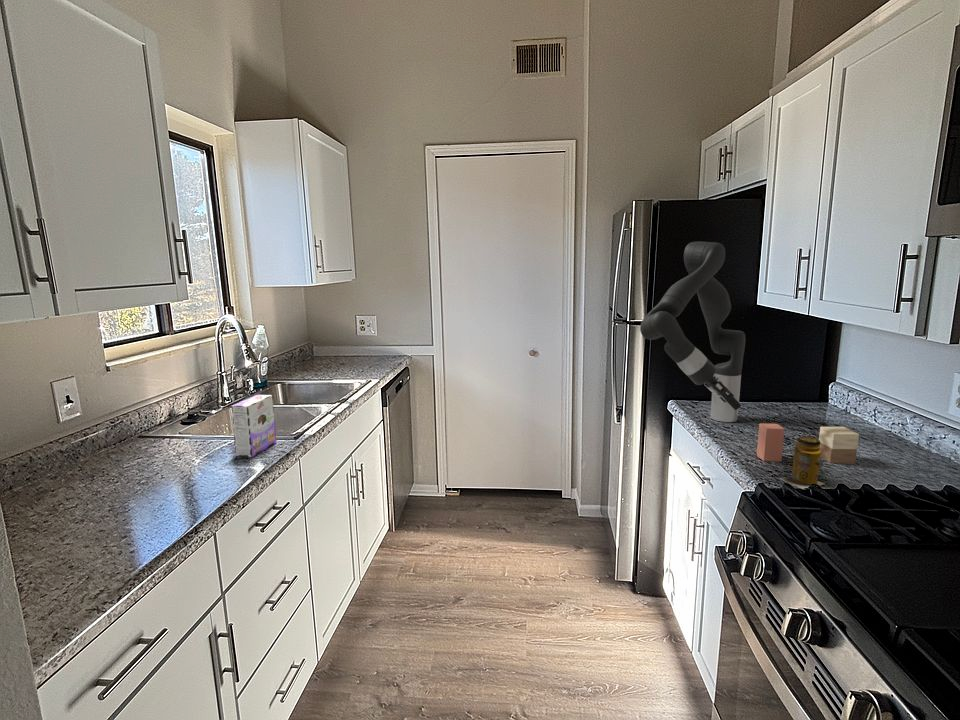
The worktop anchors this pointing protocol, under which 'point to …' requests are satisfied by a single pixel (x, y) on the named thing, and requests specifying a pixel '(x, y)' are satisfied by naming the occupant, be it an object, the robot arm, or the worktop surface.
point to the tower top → (838, 437)
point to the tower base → (838, 454)
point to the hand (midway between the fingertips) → (732, 404)
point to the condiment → (805, 463)
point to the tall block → (770, 442)
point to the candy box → (253, 425)
